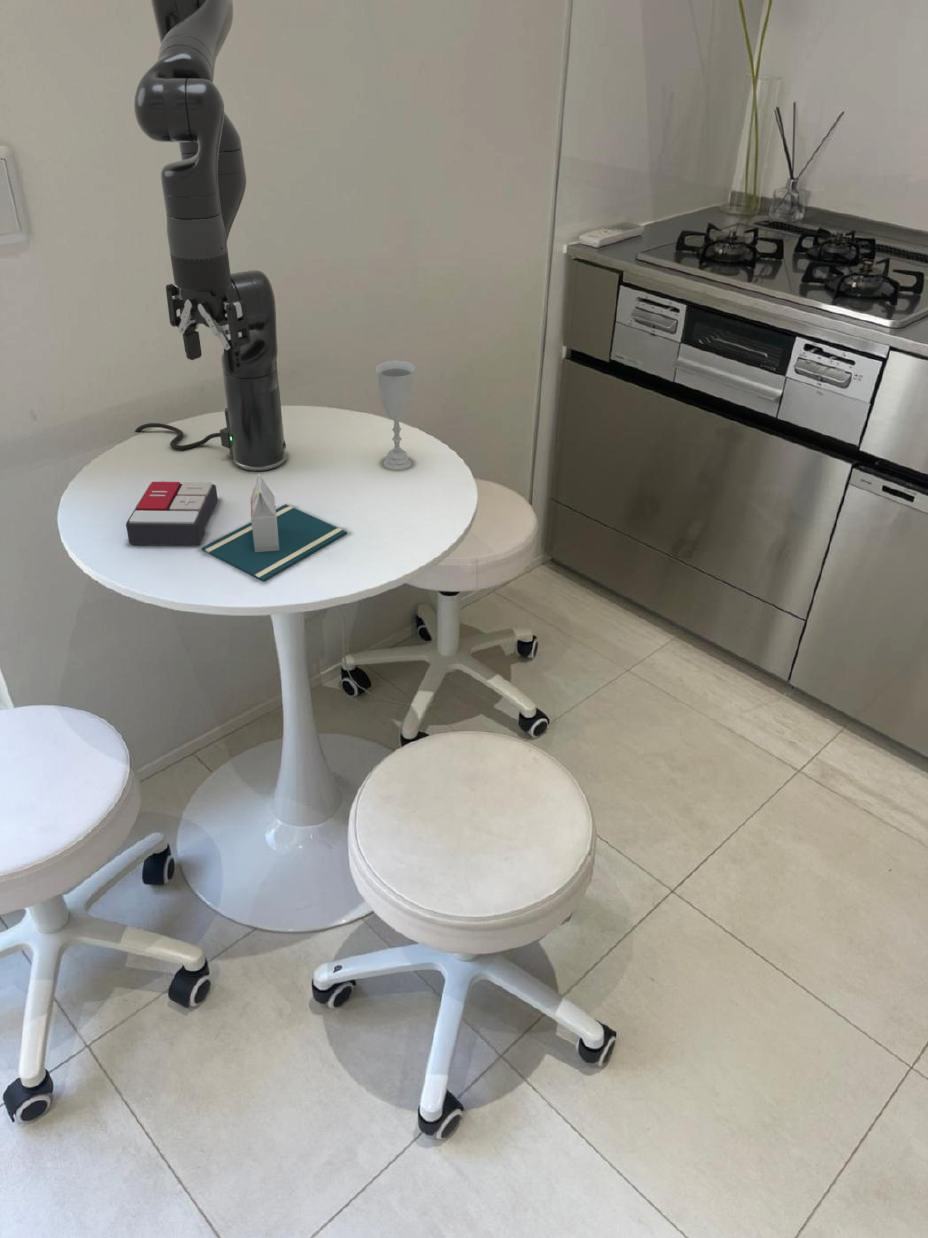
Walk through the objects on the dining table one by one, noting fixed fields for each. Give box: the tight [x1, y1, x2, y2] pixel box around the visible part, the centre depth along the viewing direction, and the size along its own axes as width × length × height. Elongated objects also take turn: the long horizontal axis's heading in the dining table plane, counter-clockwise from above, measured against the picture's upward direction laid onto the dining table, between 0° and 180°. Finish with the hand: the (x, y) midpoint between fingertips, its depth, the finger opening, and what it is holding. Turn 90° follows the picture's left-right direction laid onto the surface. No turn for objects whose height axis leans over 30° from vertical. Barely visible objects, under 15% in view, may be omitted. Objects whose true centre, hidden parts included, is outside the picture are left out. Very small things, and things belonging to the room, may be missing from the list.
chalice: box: [375, 360, 416, 471], centre depth 169 cm, size 7×7×18 cm
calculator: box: [125, 481, 219, 546], centre depth 155 cm, size 11×4×15 cm
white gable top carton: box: [249, 473, 279, 552], centre depth 148 cm, size 4×7×10 cm, turn 11°
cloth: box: [201, 504, 348, 582], centre depth 151 cm, size 14×18×1 cm
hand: (214, 365), depth 137 cm, fingers open, 8 cm apart
